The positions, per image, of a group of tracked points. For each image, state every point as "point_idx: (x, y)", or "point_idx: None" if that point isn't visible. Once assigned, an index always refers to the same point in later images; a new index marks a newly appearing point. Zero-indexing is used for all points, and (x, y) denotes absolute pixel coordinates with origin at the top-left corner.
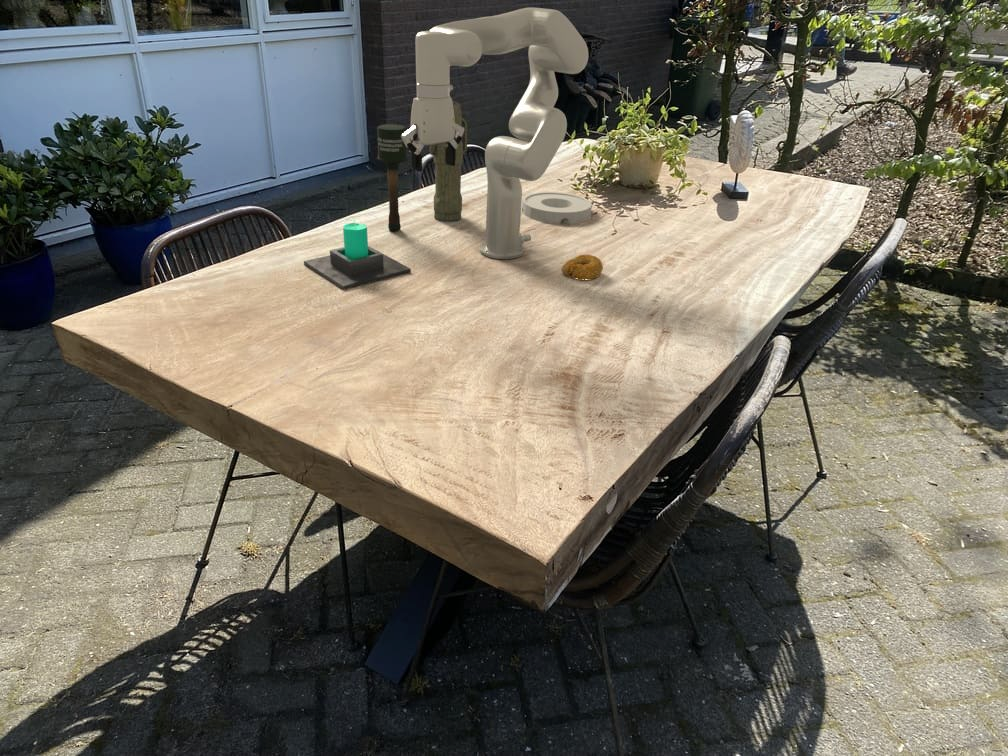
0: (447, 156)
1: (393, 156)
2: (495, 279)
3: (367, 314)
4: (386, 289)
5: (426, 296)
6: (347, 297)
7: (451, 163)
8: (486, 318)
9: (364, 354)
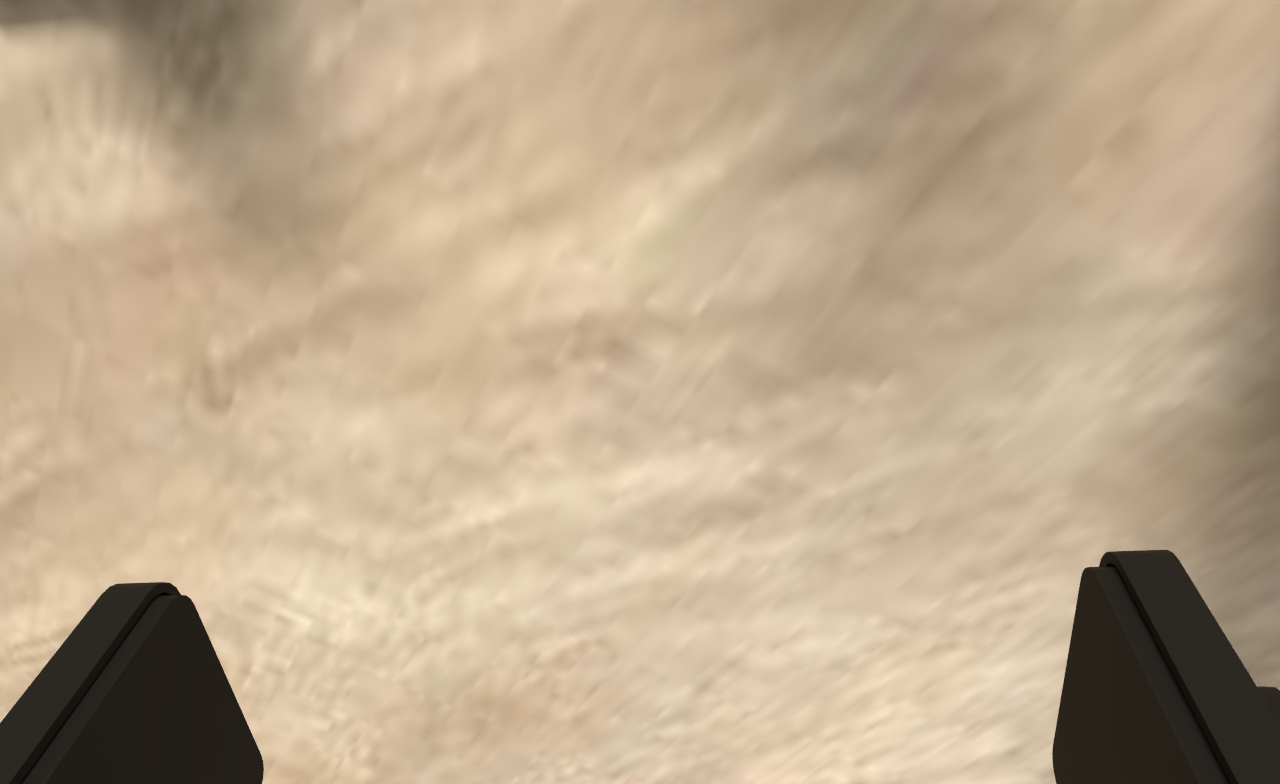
0: (1143, 777)
1: None
2: (999, 322)
3: (98, 374)
4: (280, 128)
5: (477, 333)
6: (12, 123)
7: (1066, 775)
8: (629, 645)
9: (31, 652)
